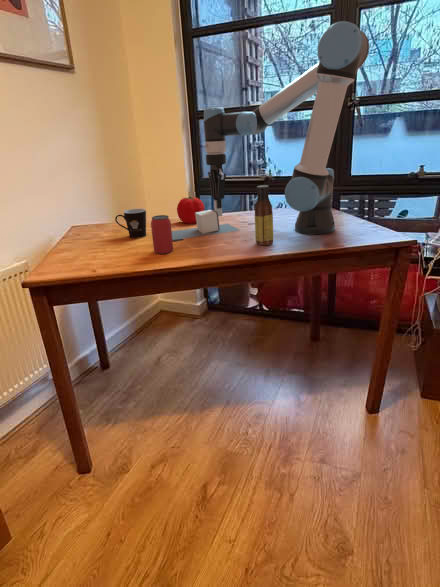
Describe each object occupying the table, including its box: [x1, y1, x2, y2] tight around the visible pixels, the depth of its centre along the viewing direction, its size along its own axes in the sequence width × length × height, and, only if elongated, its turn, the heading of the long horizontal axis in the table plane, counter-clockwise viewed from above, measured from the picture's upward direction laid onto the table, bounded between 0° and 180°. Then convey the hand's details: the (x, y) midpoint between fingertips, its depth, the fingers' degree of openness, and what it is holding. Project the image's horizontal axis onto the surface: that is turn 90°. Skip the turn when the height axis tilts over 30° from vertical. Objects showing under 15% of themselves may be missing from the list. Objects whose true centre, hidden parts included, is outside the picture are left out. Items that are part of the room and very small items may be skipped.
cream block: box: [195, 208, 220, 233], centre depth 151 cm, size 7×7×7 cm
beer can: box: [150, 214, 174, 255], centre depth 129 cm, size 7×7×12 cm
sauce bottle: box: [254, 184, 274, 247], centre depth 130 cm, size 7×6×20 cm
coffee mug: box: [115, 208, 147, 239], centre depth 150 cm, size 12×9×10 cm
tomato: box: [176, 196, 206, 225], centre depth 167 cm, size 12×13×12 cm
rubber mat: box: [172, 223, 240, 243], centre depth 152 cm, size 13×28×1 cm, turn 112°
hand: (218, 216), depth 152 cm, fingers closed
